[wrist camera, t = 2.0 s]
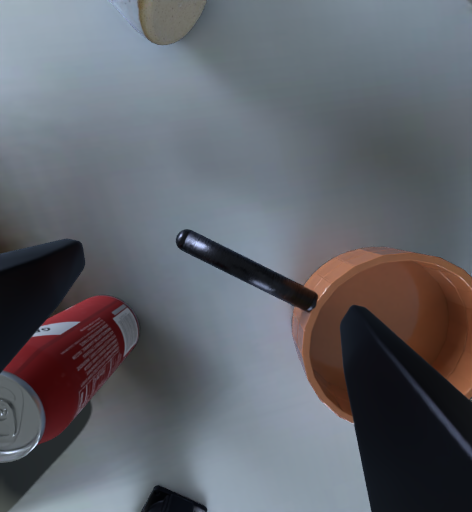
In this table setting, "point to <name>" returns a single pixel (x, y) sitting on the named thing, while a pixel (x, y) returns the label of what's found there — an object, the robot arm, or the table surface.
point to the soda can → (62, 371)
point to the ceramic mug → (161, 17)
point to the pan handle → (246, 270)
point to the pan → (387, 316)
